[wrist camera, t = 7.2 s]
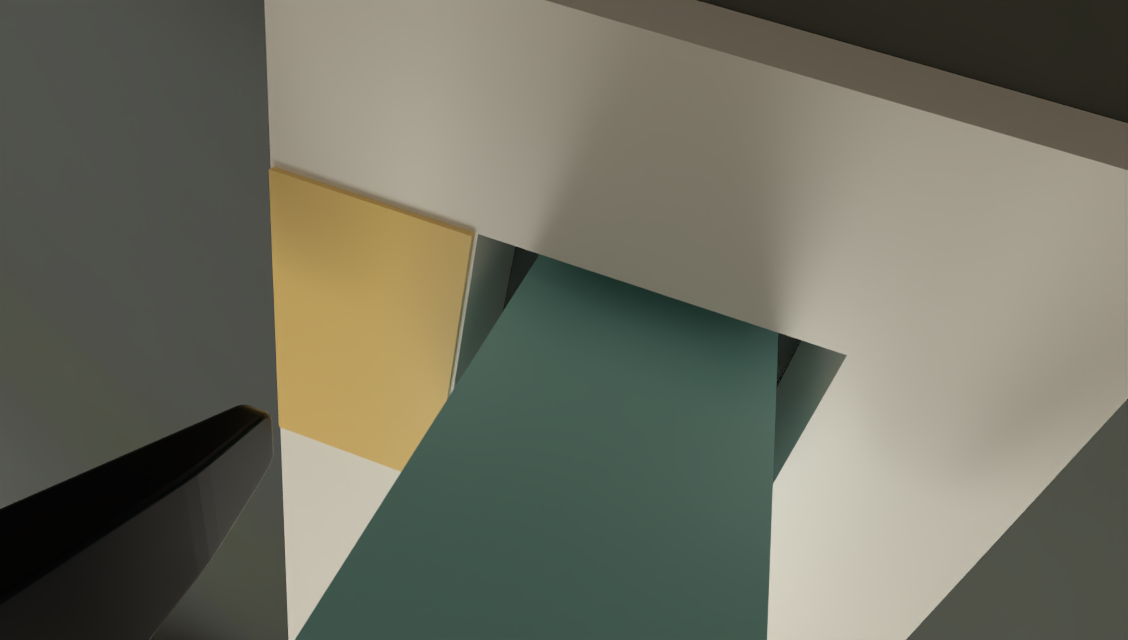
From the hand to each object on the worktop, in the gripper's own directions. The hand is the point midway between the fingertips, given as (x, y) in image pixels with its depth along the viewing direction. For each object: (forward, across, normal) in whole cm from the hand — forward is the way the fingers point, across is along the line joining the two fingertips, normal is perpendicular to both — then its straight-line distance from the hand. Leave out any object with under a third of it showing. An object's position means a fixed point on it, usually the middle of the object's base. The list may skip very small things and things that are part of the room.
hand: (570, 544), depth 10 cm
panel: (+5, 0, +7) cm, 9 cm away
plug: (+5, 0, 0) cm, 5 cm away
